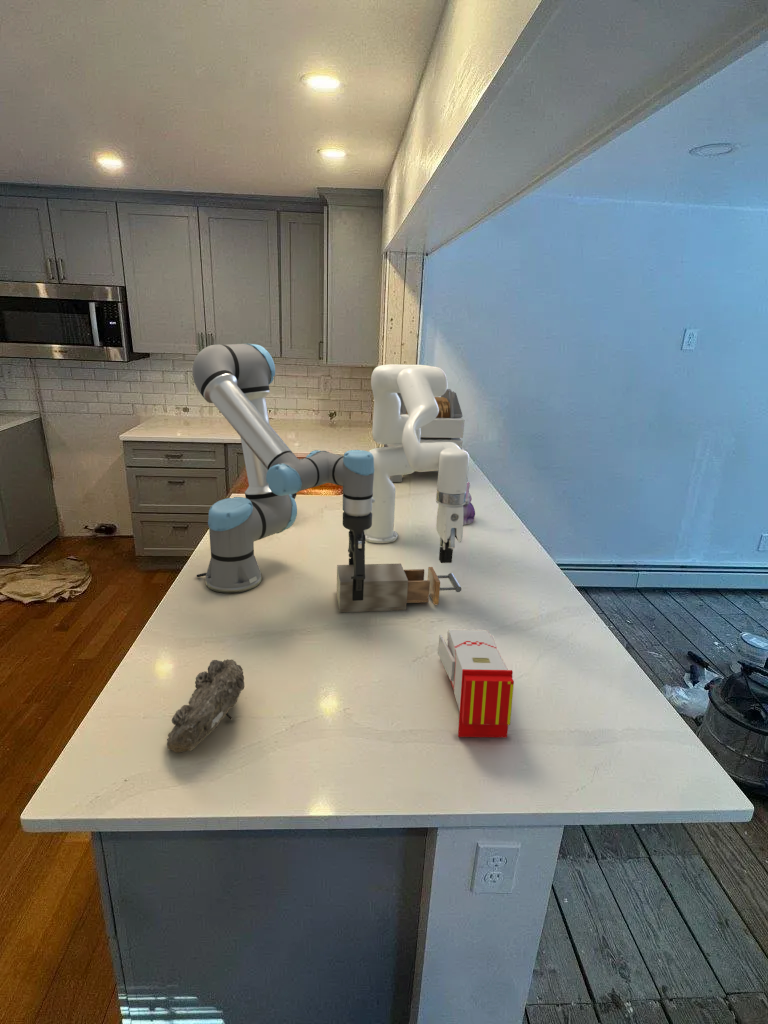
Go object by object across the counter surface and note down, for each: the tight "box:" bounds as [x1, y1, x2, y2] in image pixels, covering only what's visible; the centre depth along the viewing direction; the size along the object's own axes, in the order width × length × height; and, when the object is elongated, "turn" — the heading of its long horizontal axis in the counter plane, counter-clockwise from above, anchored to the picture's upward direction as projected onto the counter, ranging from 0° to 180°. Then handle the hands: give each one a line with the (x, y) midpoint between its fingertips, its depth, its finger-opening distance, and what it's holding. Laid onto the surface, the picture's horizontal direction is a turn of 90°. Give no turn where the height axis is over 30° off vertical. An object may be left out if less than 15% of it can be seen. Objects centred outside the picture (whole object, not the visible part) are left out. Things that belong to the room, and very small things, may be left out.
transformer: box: [383, 388, 465, 483], centre depth 268 cm, size 34×33×41 cm
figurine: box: [463, 481, 476, 526], centre depth 212 cm, size 9×10×15 cm
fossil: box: [166, 658, 245, 754], centre depth 106 cm, size 22×10×15 cm
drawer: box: [403, 566, 462, 605], centre depth 154 cm, size 23×9×7 cm, turn 99°
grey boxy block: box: [336, 563, 408, 613], centre depth 152 cm, size 18×10×9 cm, turn 99°
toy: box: [437, 628, 515, 738], centre depth 117 cm, size 12×13×30 cm
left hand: (355, 589), depth 151 cm, fingers closed on grey boxy block, 10 cm apart
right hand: (445, 561), depth 152 cm, fingers closed
